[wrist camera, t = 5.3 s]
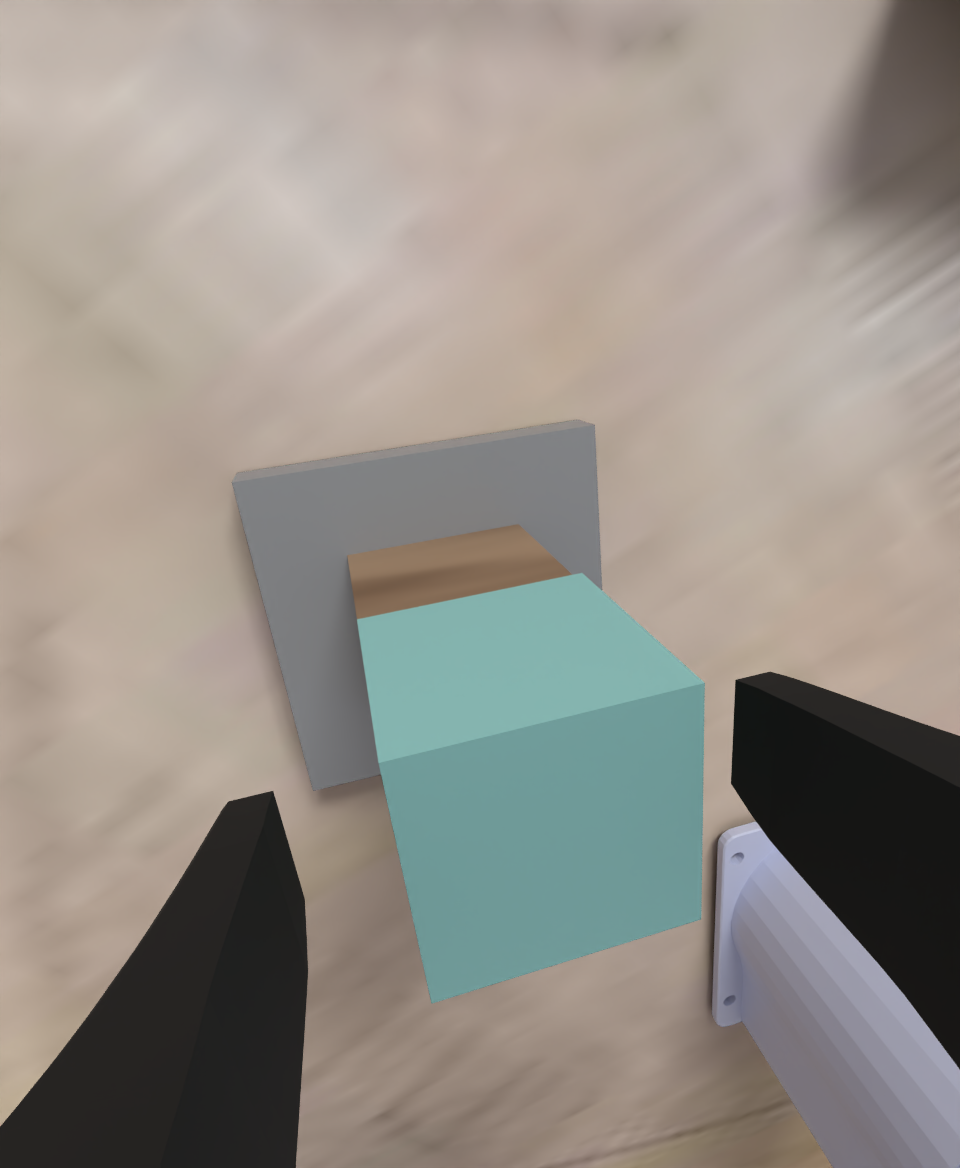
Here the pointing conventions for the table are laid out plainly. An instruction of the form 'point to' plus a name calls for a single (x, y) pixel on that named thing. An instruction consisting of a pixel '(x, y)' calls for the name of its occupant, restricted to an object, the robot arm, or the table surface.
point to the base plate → (387, 519)
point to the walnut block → (448, 569)
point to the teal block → (535, 777)
